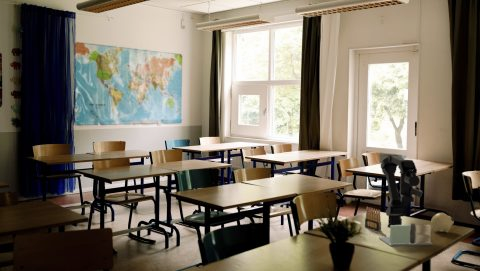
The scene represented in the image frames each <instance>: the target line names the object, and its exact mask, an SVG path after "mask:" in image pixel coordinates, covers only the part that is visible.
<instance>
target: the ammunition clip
mask: <svg viewBox="0 0 480 271" xmlns="http://www.w3.org/2000/svg"><path fill="white" fill-rule="evenodd" d="M365 210H366V211H365V212H366V213H365V218H364V228H367V229H370V230H373V231H377V232H382V222H381V210H380V209H377V208H376V209H375V207H370V206H369V207H368V206H366V209H365Z"/></svg>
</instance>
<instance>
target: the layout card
mask: <svg viewBox="0 0 480 271" xmlns="http://www.w3.org/2000/svg"><path fill="white" fill-rule="evenodd" d="M378 239H379V240H381V241H382V242H383V243H385V244H386V245H388V246H389V247H406V246H407V247H408V246H412V247H413V246H429V245H431V246H432V245H434V243H432V242H431V241H430V243H415V244H411V243H399V244H390V236H383V237H378Z"/></svg>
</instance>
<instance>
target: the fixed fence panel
mask: <svg viewBox="0 0 480 271" xmlns="http://www.w3.org/2000/svg"><path fill="white" fill-rule="evenodd" d="M409 225H410V243H411V244H415V243H430V242H431V240H432V239H431V238H432V235H431V234H432V224H416V223H414V222H411V223H410V224H409Z"/></svg>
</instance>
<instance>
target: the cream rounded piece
mask: <svg viewBox="0 0 480 271" xmlns="http://www.w3.org/2000/svg"><path fill="white" fill-rule="evenodd" d="M430 220H431V221H430V222H431V223H430V225H431V230H435V231H438V232H445V233H449V230H450V229H451V228H452V225H454V222H455V218H454V217H451V216H450V215H448V214H446V213H444V212H438V213H436V214H434V215H433V216H432V218H431V219H430Z"/></svg>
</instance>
